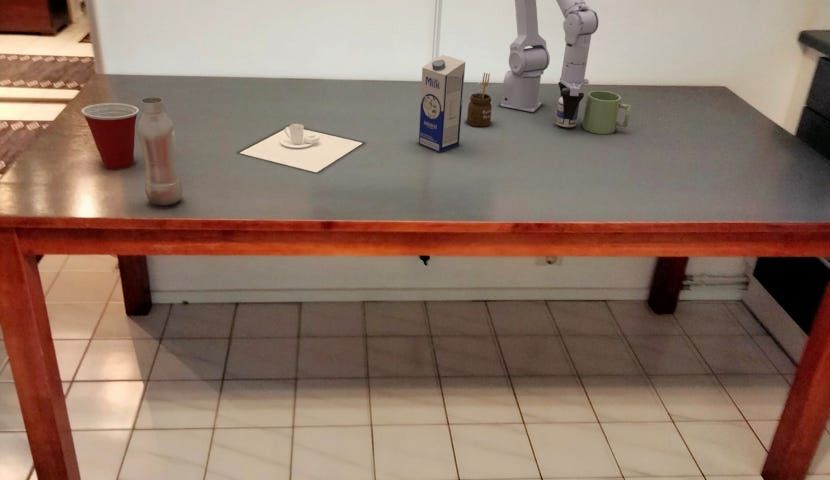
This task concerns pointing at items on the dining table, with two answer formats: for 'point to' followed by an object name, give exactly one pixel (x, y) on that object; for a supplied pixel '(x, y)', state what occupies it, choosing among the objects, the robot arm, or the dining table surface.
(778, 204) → the dining table surface
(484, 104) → the utensil holder
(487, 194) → the dining table surface
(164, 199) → the plastic bottle
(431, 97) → the milk carton
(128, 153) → the plastic cup
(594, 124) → the mug
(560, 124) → the pill bottle
